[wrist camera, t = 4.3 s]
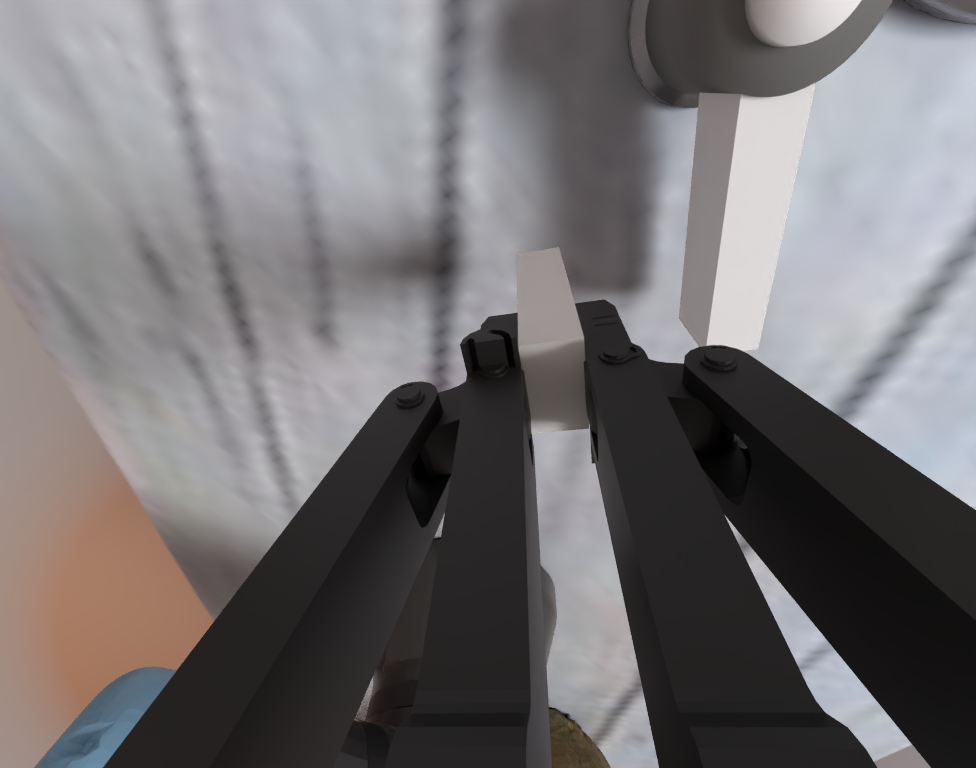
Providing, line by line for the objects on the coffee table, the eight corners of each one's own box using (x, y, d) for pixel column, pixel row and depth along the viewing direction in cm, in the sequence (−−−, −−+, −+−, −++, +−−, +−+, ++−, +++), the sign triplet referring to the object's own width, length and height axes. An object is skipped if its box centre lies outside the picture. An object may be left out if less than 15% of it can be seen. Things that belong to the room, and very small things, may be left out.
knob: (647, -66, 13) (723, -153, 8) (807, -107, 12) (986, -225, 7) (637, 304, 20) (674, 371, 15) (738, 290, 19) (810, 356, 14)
